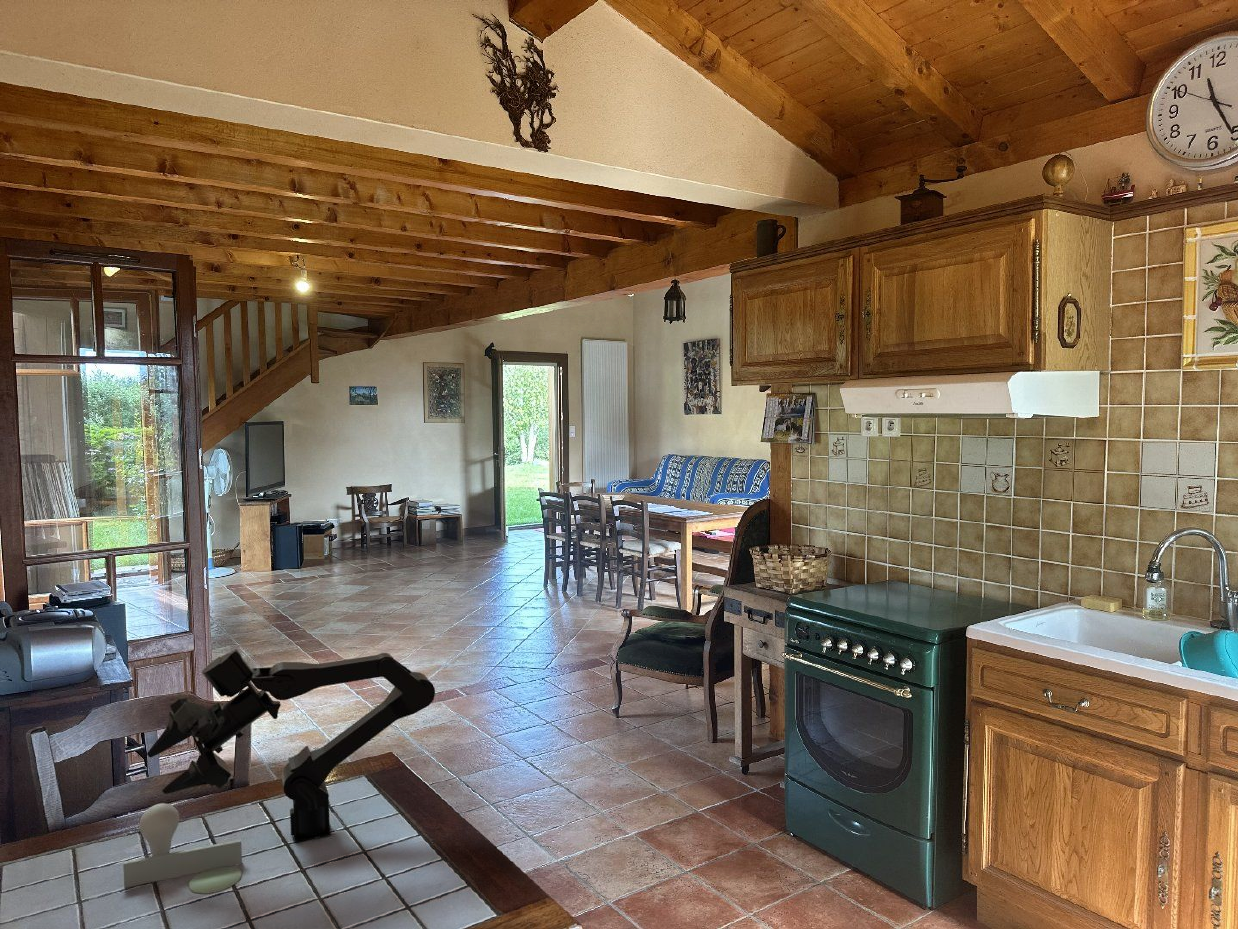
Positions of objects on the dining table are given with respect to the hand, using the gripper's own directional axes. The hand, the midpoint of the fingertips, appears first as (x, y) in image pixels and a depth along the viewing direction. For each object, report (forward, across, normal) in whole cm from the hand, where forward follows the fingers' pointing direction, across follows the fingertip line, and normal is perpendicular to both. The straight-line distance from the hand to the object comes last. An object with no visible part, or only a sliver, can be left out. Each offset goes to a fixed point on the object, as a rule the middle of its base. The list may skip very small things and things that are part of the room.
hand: (155, 774), depth 148 cm
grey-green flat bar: (+5, +14, +10) cm, 18 cm away
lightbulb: (+8, +9, +11) cm, 16 cm away
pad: (+1, +20, +9) cm, 22 cm away
